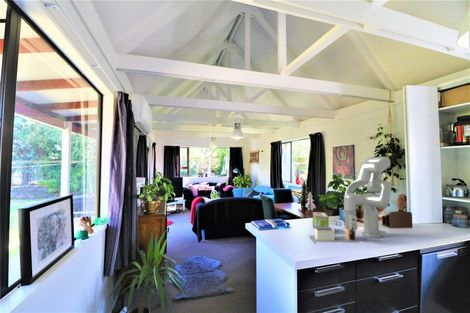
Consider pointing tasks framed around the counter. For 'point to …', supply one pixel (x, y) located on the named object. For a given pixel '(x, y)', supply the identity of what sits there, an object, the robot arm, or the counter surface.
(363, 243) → the counter surface
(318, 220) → the tea box
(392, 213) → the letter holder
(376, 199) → the robot arm
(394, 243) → the counter surface
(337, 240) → the ticket board
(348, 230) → the stub
